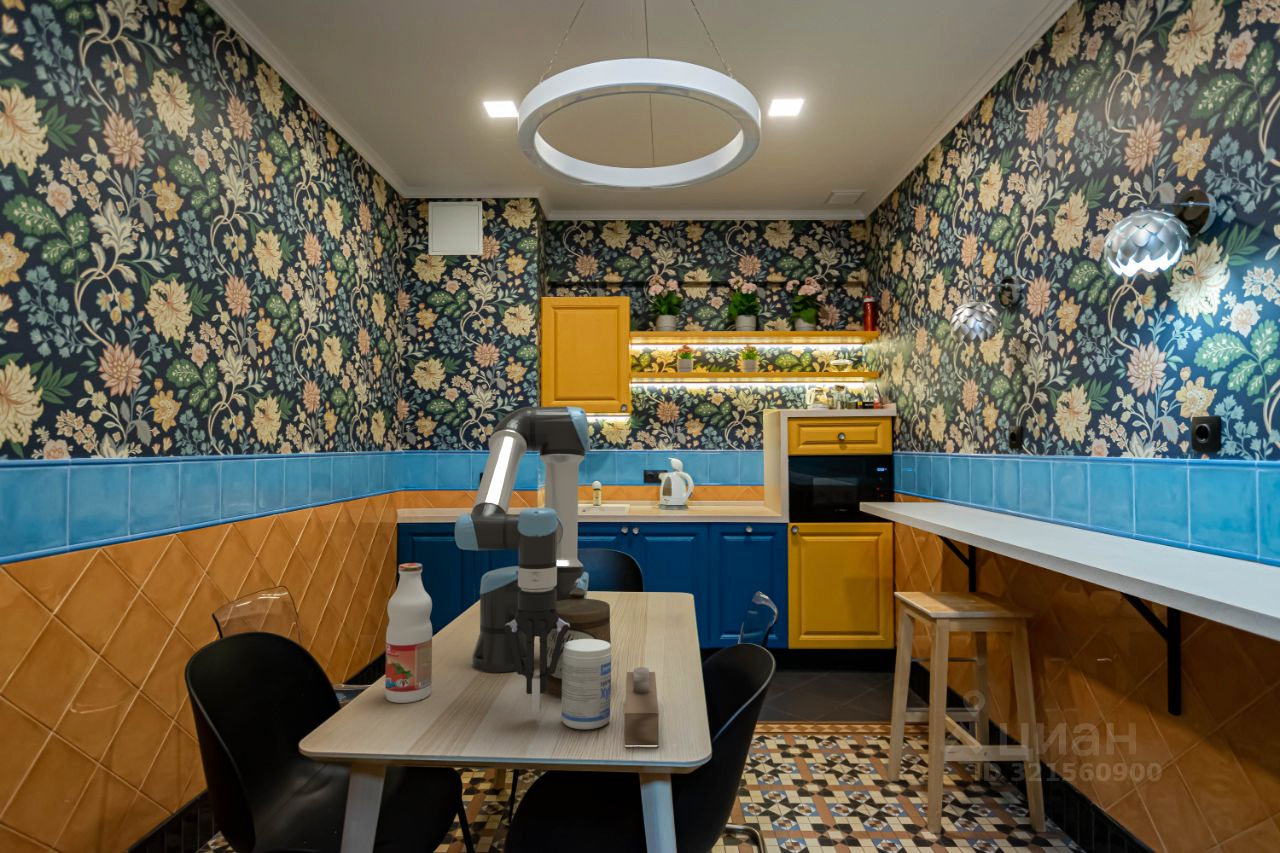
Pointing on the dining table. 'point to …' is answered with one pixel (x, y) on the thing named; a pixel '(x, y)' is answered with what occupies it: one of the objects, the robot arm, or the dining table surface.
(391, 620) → the fruit juice
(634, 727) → the bench stop
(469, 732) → the dining table surface
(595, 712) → the supplement tub
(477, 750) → the dining table surface
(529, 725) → the dining table surface
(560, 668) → the wooden container
